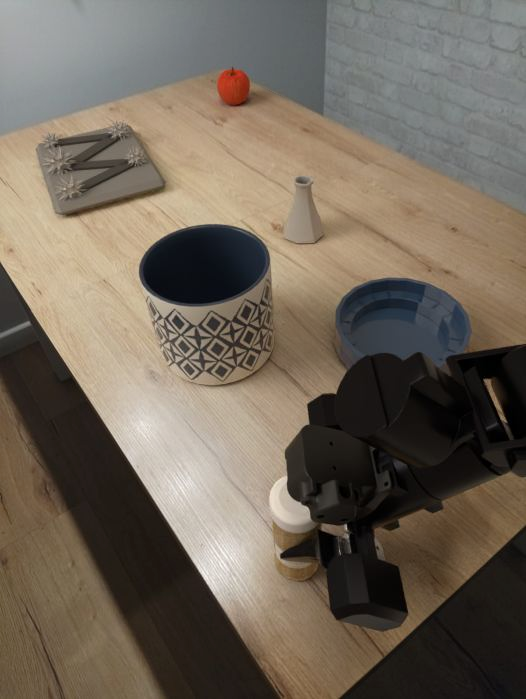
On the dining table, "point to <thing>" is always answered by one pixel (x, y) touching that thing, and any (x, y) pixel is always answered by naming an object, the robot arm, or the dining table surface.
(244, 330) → the planter
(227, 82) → the apple
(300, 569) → the sprinkles bottle
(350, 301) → the bowl
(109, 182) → the decorative plate
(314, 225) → the flask
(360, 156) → the dining table surface
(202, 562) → the dining table surface
